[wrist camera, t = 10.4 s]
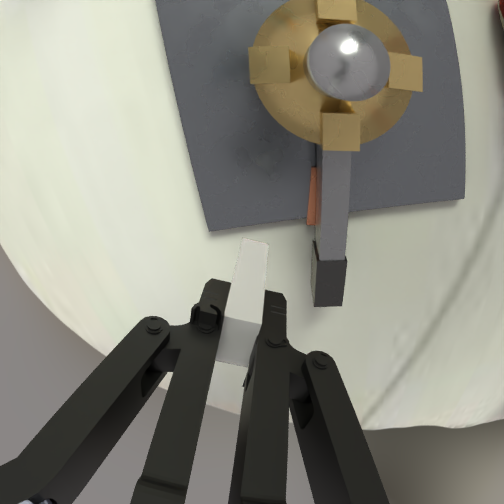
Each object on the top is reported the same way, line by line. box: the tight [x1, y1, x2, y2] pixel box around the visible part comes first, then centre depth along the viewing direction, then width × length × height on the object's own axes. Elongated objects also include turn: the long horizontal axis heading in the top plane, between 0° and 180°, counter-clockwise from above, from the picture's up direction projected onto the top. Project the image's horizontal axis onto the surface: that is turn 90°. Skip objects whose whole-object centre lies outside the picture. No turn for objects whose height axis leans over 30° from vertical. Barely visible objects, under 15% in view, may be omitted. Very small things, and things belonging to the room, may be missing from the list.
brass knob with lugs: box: [248, 0, 423, 307], centre depth 22 cm, size 24×11×5 cm, turn 3°
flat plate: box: [156, 0, 465, 231], centre depth 18 cm, size 24×25×10 cm
